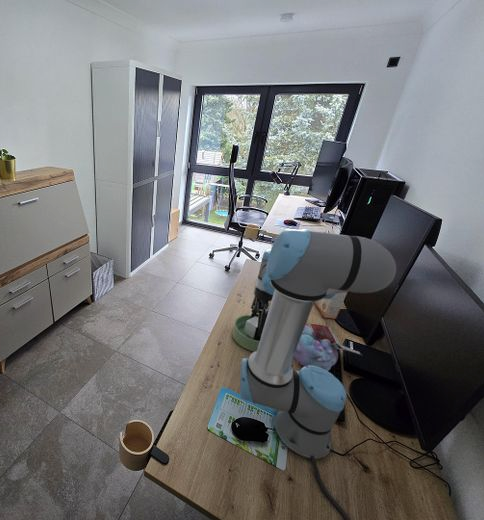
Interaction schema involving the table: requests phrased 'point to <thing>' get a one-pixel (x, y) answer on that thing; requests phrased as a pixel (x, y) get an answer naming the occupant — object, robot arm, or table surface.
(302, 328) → the robot arm
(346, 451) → the table surface
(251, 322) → the white cube
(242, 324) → the bowl
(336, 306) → the cracker box
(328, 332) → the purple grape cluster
